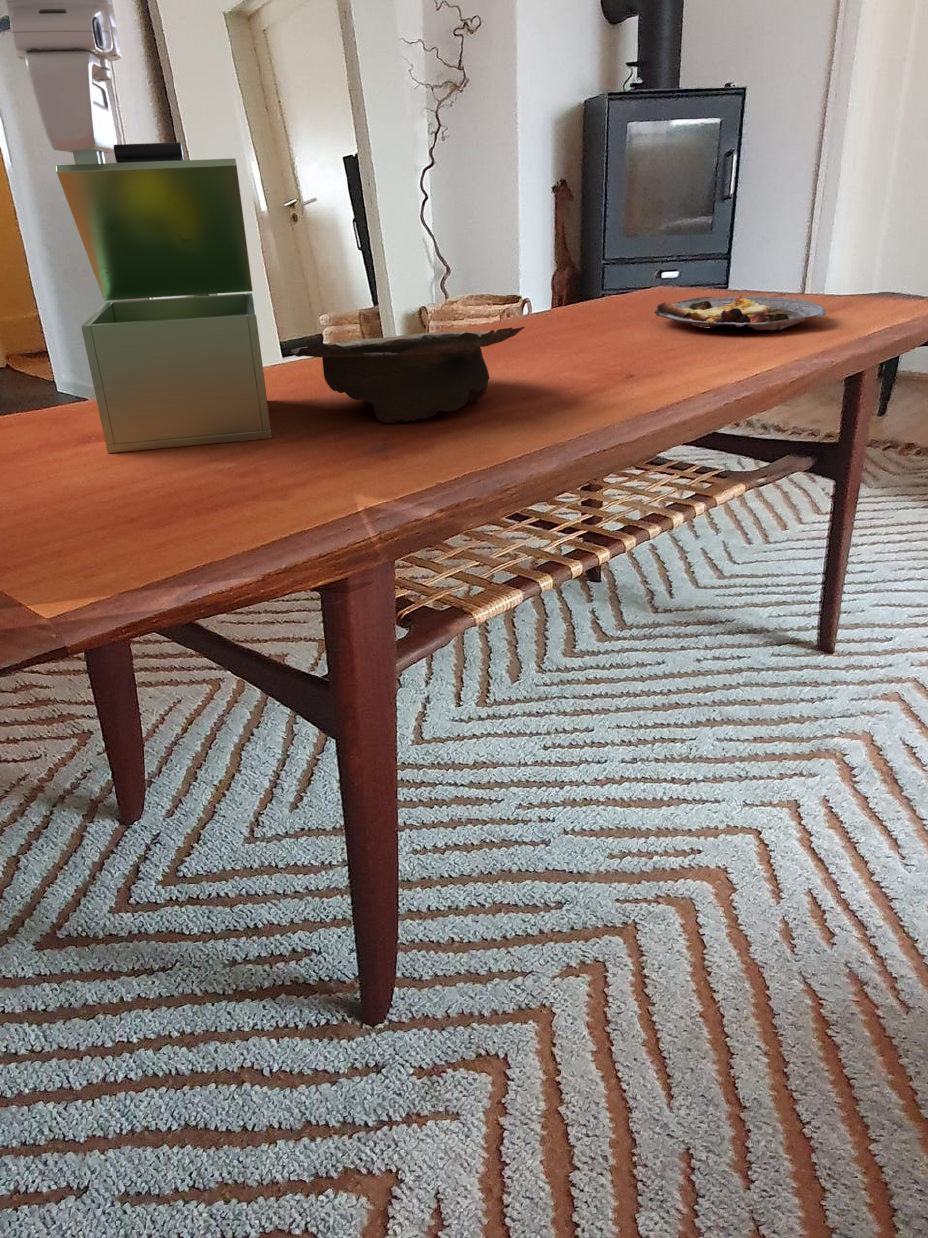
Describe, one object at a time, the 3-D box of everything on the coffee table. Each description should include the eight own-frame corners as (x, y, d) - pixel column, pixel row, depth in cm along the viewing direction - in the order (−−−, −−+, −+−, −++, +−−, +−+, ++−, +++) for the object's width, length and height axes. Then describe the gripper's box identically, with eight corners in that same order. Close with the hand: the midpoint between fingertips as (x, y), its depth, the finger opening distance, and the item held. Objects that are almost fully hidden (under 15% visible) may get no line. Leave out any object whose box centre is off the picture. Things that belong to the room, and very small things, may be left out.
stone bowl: (442, 441, 88) (430, 339, 84) (253, 431, 101) (235, 344, 97) (563, 384, 106) (558, 299, 102) (390, 383, 120) (379, 307, 116)
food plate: (719, 342, 130) (721, 316, 128) (625, 322, 149) (626, 299, 147) (855, 324, 139) (858, 300, 137) (750, 307, 158) (752, 285, 156)
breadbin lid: (236, 164, 85) (231, 124, 86) (56, 172, 82) (53, 129, 83) (252, 291, 102) (248, 256, 104) (104, 300, 100) (101, 264, 101)
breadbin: (271, 438, 92) (255, 314, 87) (107, 453, 90) (81, 325, 84) (266, 399, 108) (252, 292, 103) (126, 411, 105) (104, 302, 100)
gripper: (49, 50, 92) (79, 204, 98) (4, 20, 74) (45, 211, 80) (116, 49, 93) (142, 201, 99) (88, 19, 75) (122, 208, 81)
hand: (98, 206), depth 89 cm, fingers closed
